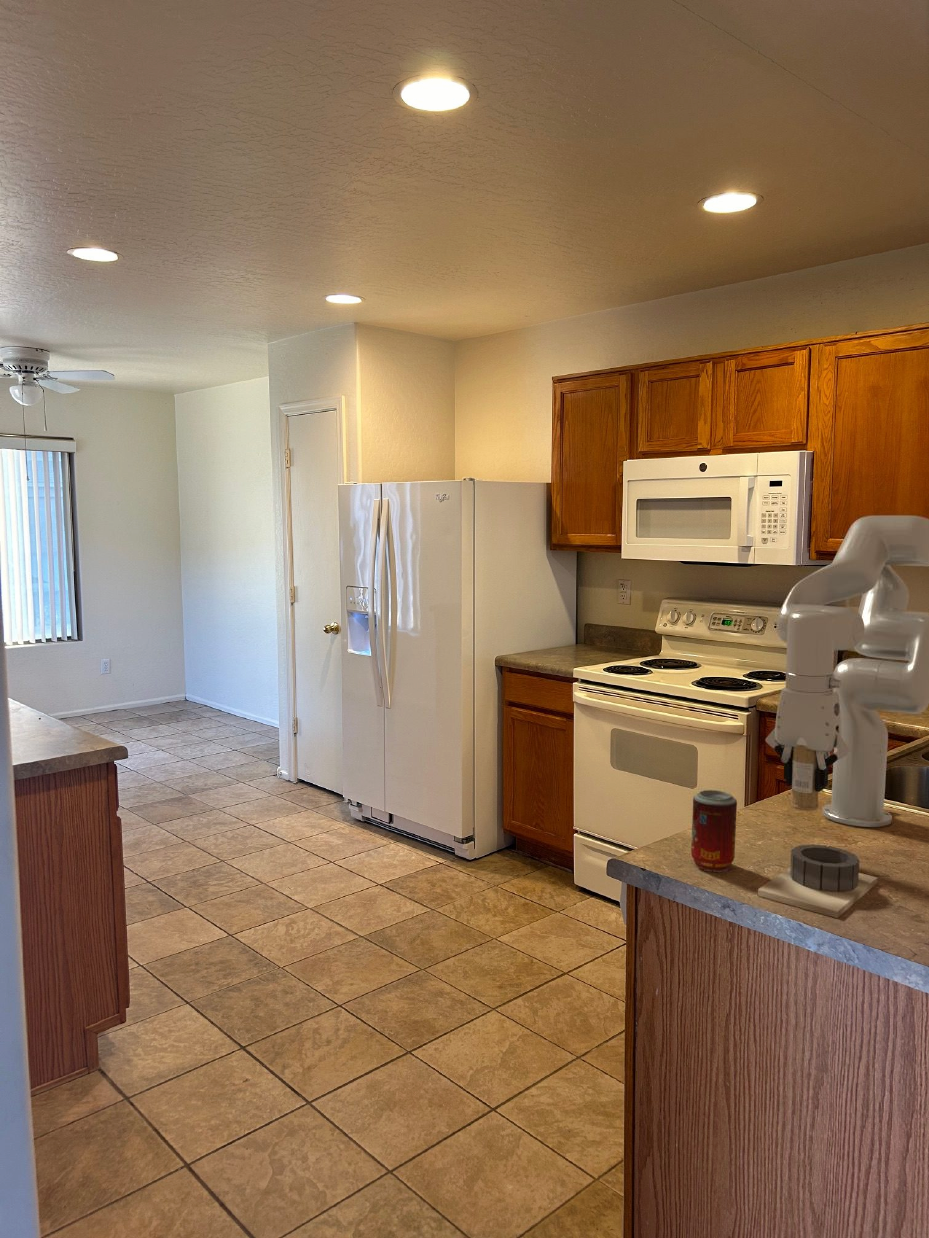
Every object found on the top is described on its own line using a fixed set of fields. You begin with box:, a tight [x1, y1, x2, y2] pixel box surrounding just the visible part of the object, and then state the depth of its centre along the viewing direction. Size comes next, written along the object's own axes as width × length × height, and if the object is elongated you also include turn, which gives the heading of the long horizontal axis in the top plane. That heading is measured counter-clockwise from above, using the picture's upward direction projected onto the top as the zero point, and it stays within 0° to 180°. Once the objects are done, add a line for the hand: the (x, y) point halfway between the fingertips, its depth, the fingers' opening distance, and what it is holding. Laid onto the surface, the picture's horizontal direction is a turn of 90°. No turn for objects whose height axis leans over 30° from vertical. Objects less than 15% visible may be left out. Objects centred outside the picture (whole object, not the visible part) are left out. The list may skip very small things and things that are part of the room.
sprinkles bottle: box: [790, 738, 819, 812], centre depth 157 cm, size 5×5×14 cm
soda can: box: [690, 789, 738, 873], centre depth 152 cm, size 7×7×12 cm
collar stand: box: [757, 844, 878, 919], centre depth 143 cm, size 18×12×5 cm, turn 139°
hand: (805, 785), depth 157 cm, fingers closed on sprinkles bottle, 4 cm apart
